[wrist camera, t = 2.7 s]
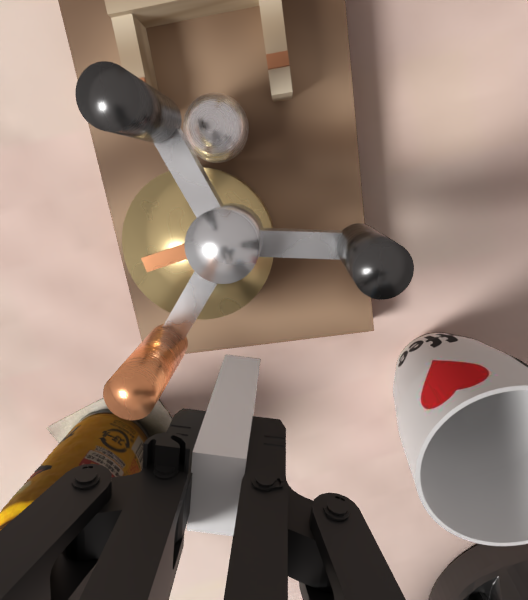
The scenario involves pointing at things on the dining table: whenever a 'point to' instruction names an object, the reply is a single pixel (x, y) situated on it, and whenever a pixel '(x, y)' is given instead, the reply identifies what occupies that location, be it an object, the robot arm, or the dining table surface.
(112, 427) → the condiment
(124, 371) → the capstan
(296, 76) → the stand
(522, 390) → the cup
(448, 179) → the dining table surface
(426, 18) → the dining table surface
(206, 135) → the ball
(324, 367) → the dining table surface
